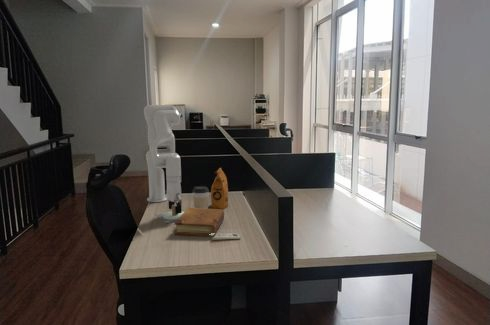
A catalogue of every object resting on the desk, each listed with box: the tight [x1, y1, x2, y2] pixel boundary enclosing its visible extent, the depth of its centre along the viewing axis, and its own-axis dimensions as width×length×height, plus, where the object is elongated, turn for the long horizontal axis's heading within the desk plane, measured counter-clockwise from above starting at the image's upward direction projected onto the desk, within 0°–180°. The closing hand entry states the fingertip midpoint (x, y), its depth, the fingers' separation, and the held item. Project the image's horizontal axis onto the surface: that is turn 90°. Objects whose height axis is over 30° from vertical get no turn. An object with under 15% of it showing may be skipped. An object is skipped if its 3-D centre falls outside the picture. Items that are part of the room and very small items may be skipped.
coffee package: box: [210, 167, 229, 210], centre depth 215 cm, size 10×12×22 cm
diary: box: [174, 207, 225, 237], centre depth 180 cm, size 23×19×6 cm
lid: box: [162, 205, 184, 220], centre depth 195 cm, size 13×13×6 cm
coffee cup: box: [191, 185, 210, 209], centre depth 202 cm, size 9×9×15 cm
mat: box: [155, 210, 186, 224], centre depth 196 cm, size 16×16×1 cm
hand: (175, 211), depth 195 cm, fingers open, 9 cm apart
